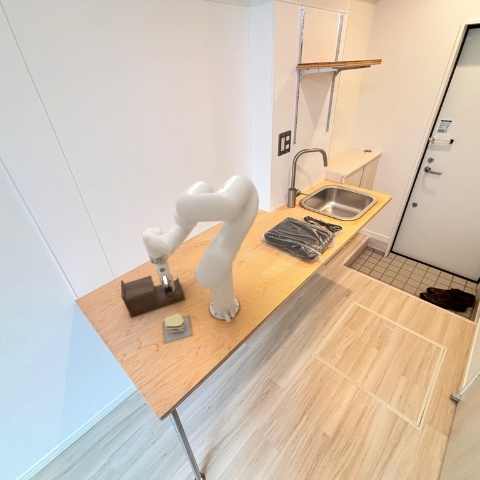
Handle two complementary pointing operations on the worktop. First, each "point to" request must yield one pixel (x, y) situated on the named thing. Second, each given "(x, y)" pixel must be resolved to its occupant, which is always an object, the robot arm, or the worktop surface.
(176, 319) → the stacked layers on plate
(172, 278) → the spice jar
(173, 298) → the step rack
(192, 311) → the worktop surface
